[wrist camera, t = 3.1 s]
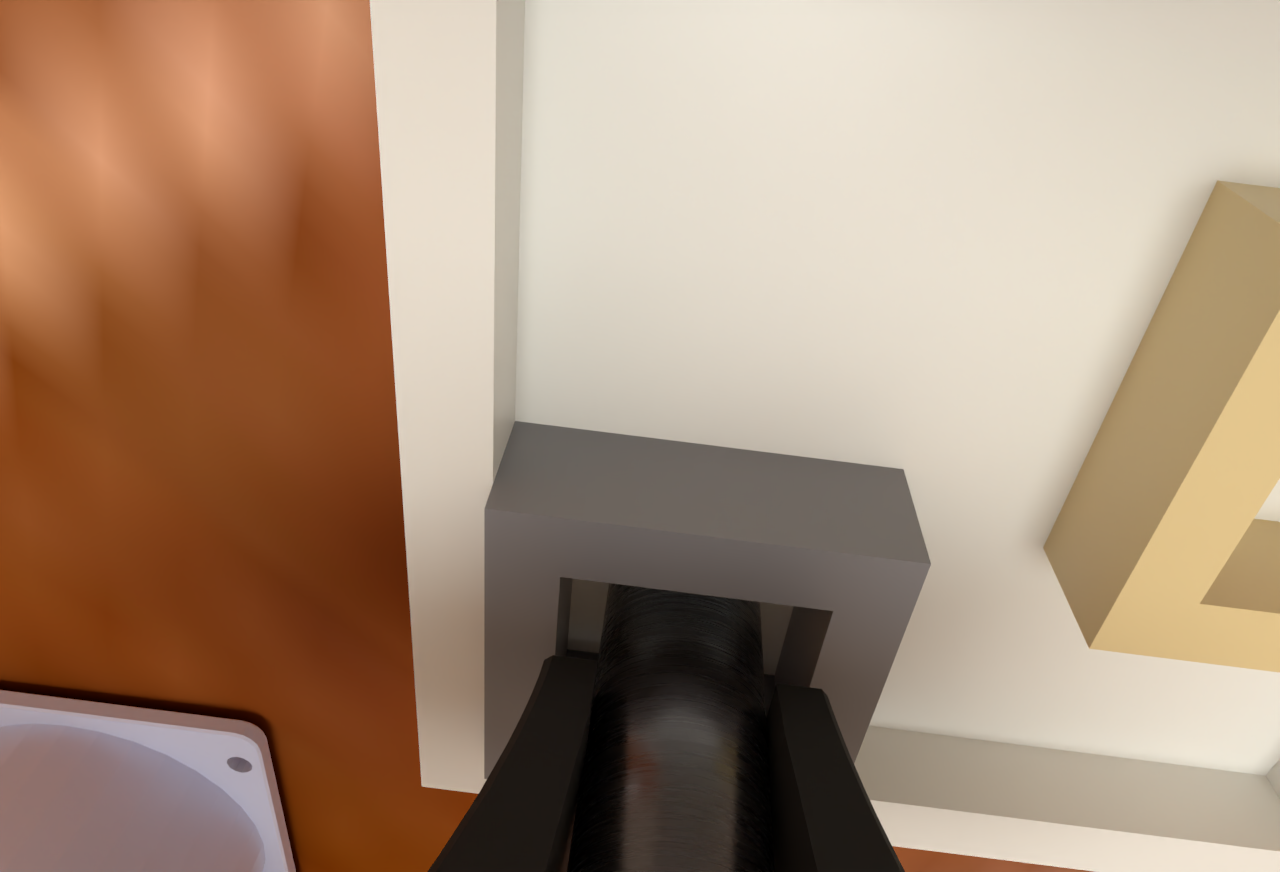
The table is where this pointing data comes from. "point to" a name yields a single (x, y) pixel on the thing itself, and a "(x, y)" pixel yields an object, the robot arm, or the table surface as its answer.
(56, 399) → the table surface
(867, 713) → the equipment case
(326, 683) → the table surface
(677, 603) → the rod
